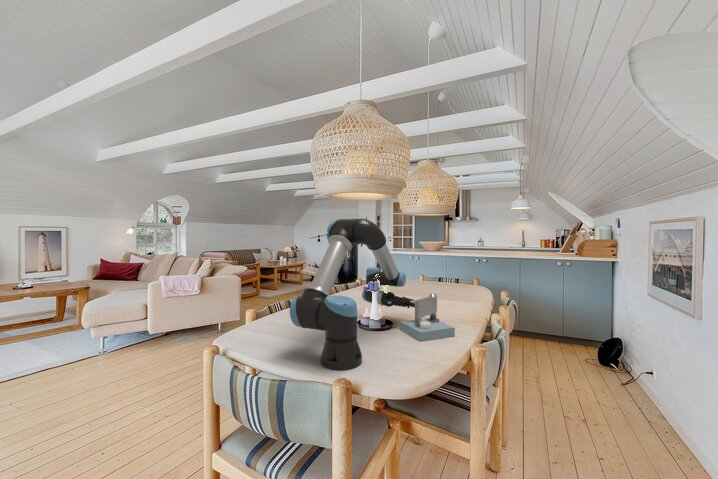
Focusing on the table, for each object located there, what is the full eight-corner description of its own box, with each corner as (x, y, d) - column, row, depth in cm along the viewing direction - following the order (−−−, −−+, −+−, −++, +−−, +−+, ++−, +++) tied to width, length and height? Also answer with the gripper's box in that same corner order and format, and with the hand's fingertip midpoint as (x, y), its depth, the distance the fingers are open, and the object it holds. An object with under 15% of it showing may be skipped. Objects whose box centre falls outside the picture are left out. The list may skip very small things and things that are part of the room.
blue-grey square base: (455, 336, 140) (455, 326, 140) (420, 341, 134) (420, 330, 134) (432, 325, 157) (432, 316, 157) (400, 329, 150) (400, 320, 150)
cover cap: (432, 329, 138) (432, 323, 138) (421, 329, 137) (421, 323, 137) (428, 326, 143) (428, 320, 143) (418, 326, 142) (418, 321, 142)
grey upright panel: (413, 325, 142) (413, 298, 142) (432, 318, 154) (432, 293, 154) (419, 326, 140) (419, 298, 140) (437, 319, 152) (437, 294, 152)
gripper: (393, 303, 169) (430, 311, 151) (376, 307, 160) (413, 316, 142) (393, 289, 168) (429, 296, 151) (376, 293, 160) (413, 299, 142)
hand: (421, 305), depth 147 cm, fingers closed
